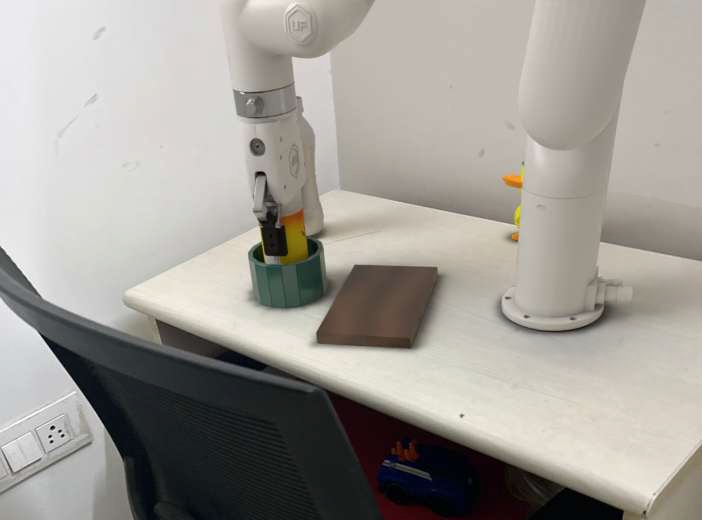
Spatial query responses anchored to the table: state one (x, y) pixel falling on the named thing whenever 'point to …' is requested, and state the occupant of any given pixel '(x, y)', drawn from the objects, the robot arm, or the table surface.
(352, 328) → the board
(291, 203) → the beer can
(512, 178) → the toy figure
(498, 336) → the table surface
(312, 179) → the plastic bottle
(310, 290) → the crock
